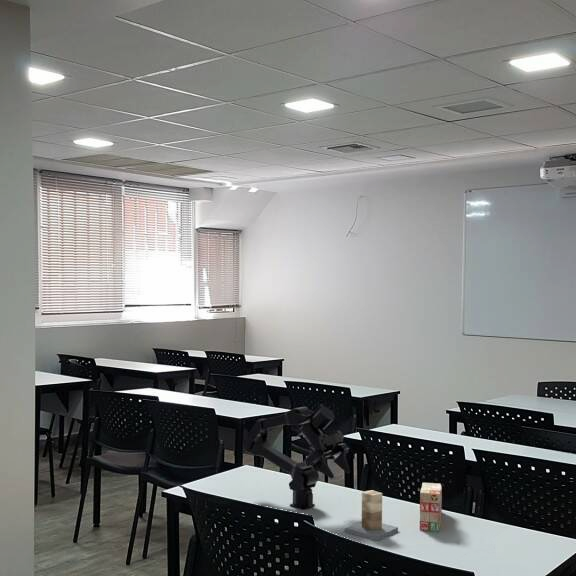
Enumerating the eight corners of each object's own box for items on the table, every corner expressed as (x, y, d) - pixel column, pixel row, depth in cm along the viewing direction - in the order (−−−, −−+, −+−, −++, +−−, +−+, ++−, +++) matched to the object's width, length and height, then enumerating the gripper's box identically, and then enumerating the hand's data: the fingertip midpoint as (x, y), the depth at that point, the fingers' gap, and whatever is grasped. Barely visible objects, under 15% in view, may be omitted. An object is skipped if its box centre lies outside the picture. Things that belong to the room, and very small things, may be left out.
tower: (361, 527, 227) (361, 492, 227) (371, 524, 230) (371, 489, 230) (371, 531, 223) (372, 495, 223) (381, 528, 226) (382, 493, 226)
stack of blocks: (423, 510, 249) (423, 475, 250) (441, 512, 248) (442, 476, 248) (419, 530, 229) (419, 491, 229) (439, 532, 227) (440, 493, 227)
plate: (344, 532, 226) (345, 528, 226) (366, 522, 235) (366, 519, 235) (377, 540, 218) (377, 536, 218) (398, 531, 227) (398, 527, 227)
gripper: (312, 427, 238) (339, 466, 231) (344, 420, 253) (370, 456, 246) (293, 447, 243) (319, 486, 236) (326, 439, 258) (351, 475, 251)
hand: (341, 475), depth 242 cm, fingers open, 9 cm apart
